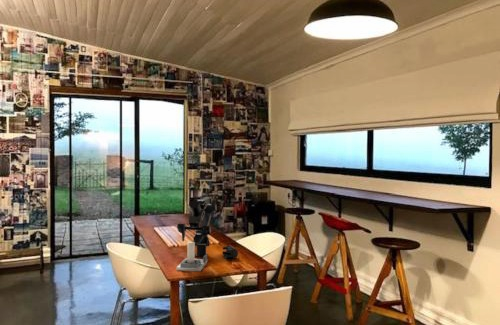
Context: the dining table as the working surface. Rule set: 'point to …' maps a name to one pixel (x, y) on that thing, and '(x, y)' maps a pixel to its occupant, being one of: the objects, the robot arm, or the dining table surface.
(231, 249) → the end cap
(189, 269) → the jig
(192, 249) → the white tapered cylinder
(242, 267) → the dining table surface
